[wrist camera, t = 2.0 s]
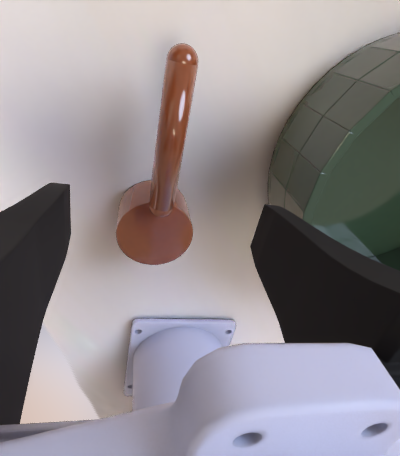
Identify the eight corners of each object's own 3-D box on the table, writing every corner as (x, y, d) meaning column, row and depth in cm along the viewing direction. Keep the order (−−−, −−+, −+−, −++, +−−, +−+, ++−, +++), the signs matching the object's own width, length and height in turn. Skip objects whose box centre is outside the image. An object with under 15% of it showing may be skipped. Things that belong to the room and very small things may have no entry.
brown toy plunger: (181, 240, 21) (188, 281, 18) (116, 236, 20) (112, 278, 17) (219, 47, 15) (240, 56, 12) (131, 28, 14) (128, 32, 11)
